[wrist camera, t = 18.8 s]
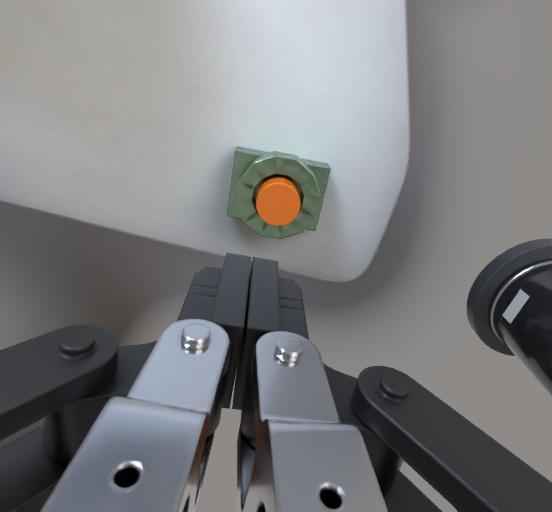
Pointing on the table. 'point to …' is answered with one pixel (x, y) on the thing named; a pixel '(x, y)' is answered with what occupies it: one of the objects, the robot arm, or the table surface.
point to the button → (278, 201)
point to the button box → (263, 166)
